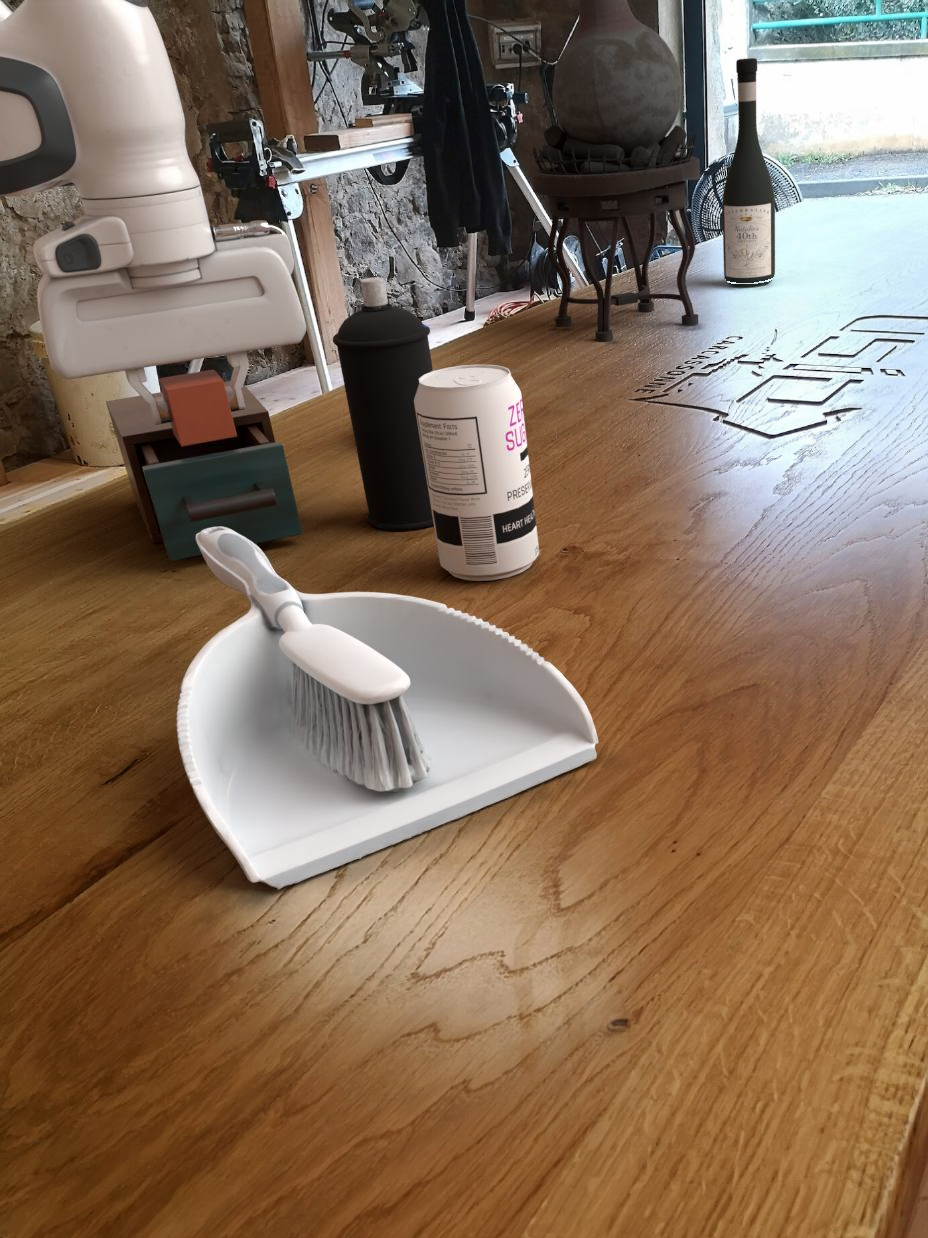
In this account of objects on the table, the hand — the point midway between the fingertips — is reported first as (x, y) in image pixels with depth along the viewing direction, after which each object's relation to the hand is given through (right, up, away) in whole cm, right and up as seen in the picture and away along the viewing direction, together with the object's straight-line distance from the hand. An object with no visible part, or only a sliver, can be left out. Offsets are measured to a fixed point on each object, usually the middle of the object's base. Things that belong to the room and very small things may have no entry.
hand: (199, 415), depth 104 cm
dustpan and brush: (+17, -28, -23) cm, 40 cm away
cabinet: (-4, -3, +16) cm, 17 cm away
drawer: (0, -8, +7) cm, 10 cm away
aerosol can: (+16, -6, +10) cm, 20 cm away
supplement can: (+25, -13, -1) cm, 28 cm away
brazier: (+35, +39, +73) cm, 90 cm away
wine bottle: (+54, +54, +93) cm, 120 cm away
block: (0, -1, +1) cm, 2 cm away
